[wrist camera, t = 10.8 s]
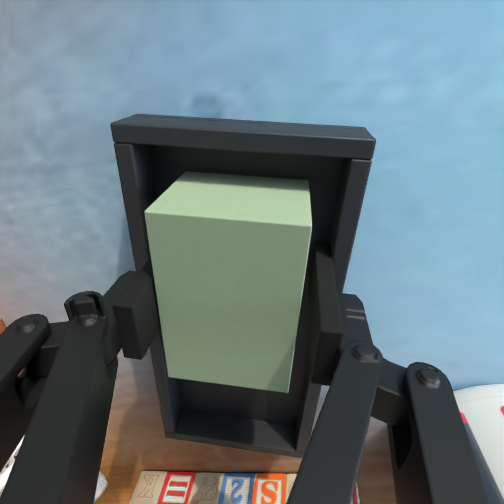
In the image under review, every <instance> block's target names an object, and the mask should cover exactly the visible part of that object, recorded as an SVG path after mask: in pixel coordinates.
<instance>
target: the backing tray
mask: <svg viewBox="0 0 504 504" xmlns="http://www.w3.org/2000/svg"><path fill="white" fill-rule="evenodd" d="M111 131H112V136H113V141H114V142H116V143H114V148H115V153H116V159H117V165H118V170H119V176H120V182H121V187H122V193H123V199H124V204H125V210H126V216H127V221H128V227H129V233H130V238H131V244H132V250H133V255H134V261H135V266H136V271H137V272H139V271H140V270H141V268H142V267H143V266H144V265H145V263H146V262H147V261H148V260H149V258H150V257H151V255H150V248H149V241H148V235H147V228H146V221H145V214H144V212H145V210H146V209H147V208H148V207H149V206H150V205H151V204H152V203H154V202H155V201H156V200H157V199H158V198H159V197H160V196H161V195H162V194H163V193H164V192H165V191H166V190H167V189H168V188H169V187H170V186H171V185H172V184H173V183H174V182H175V181H176V180H177V179H178V178H179V177H180V176H181V175H182V174H183V173H184V172H185V171H191V172H204V173H218V174H231V175H245V176H259V177H272V178H286V179H300V180H309V191H310V204H311V217H312V232H311V238H310V245H309V252H308V259H307V266H306V273H305V280H304V287H303V294H302V301H301V308H300V315H299V322H298V329H297V336H296V343H295V350H294V357H293V364H292V370H291V377H290V384H289V391H288V393H285V392H277V391H270V390H262V389H255V388H247V387H239V386H232V385H224V384H217V383H209V382H202V381H194V380H187V379H179V378H172V377H168V371H167V364H166V357H165V350H164V344H163V337H162V330H161V326H160V328H159V330H158V332H157V333H156V335H155V337H154V339H153V341H152V342H151V344H150V351H151V357H152V363H153V368H154V374H155V380H156V385H157V391H158V397H159V402H160V408H161V413H162V419H163V425H164V430H165V437H166V438H173V439H179V440H186V441H193V442H199V443H206V444H212V445H219V446H226V447H232V448H239V449H246V450H252V451H259V452H265V453H272V454H279V455H285V456H292V457H298V458H303V457H304V454H305V451H306V449H307V446H308V443H309V439H310V435H311V430H312V426H313V421H314V417H315V412H316V408H317V403H318V399H319V394H320V390H321V386H322V385H320V384H313V383H311V369H310V329H309V290H308V283H309V277H310V270H311V263H312V257H313V250H314V244H315V241H318V242H329V243H330V249H331V255H332V261H333V267H334V274H335V280H336V287H337V293H342V292H343V287H344V283H345V279H346V274H347V270H348V265H349V261H350V256H351V252H352V247H353V243H354V238H355V234H356V229H357V225H358V221H359V216H360V212H361V207H362V203H363V198H364V194H365V189H366V185H367V180H368V176H369V172H370V167H371V163H372V162H371V159H372V158H373V153H374V149H375V144H376V139H375V138H374V137H373V136H372V135H371V134H370V133H369V132H368V131H367V129H366V128H365V127H350V126H333V125H316V124H299V123H282V122H266V121H249V120H232V119H215V118H198V117H181V116H164V115H147V114H136V115H133V116H130V117H127V118H124V119H121V120H118V121H115V122H112V123H111Z"/></svg>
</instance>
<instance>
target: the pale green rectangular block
mask: <svg viewBox="0 0 504 504" xmlns="http://www.w3.org/2000/svg"><path fill="white" fill-rule="evenodd" d="M144 214H145V221H146V228H147V235H148V241H149V248H150V255H151V262H152V269H153V276H154V282H155V289H156V296H157V303H158V310H159V316H160V323H161V330H162V337H163V344H164V350H165V357H166V364H167V371H168V377H172V378H179V379H187V380H194V381H202V382H209V383H217V384H224V385H232V386H239V387H247V388H255V389H262V390H270V391H277V392H285V393H288V391H289V384H290V377H291V370H292V364H293V357H294V350H295V343H296V336H297V329H298V322H299V315H300V308H301V301H302V294H303V287H304V280H305V273H306V266H307V259H308V252H309V245H310V238H311V232H312V217H311V204H310V191H309V180H300V179H286V178H272V177H259V176H245V175H231V174H218V173H204V172H191V171H185V172H184V173H183V174H182V175H181V176H180V177H179V178H178V179H177V180H176V181H175V182H174V183H173V184H172V185H171V186H170V187H169V188H168V189H167V190H166V191H165V192H164V193H163V194H162V195H161V196H160V197H159V198H158V199H157V200H156V201H155V202H154V203H152V204H151V205H150V206H149V207H148V208H147V209H146V210H145V212H144Z"/></svg>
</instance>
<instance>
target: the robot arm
mask: <svg viewBox="0 0 504 504" xmlns="http://www.w3.org/2000/svg"><path fill="white" fill-rule="evenodd" d="M308 290H309V329H310V369H311V383H313V384H320V385H327V386H330V387H329V390H328V393H327V395H326V398H325V401H324V403H323V406H322V409H321V411H320V414H319V417H318V419H317V422H316V425H315V427H314V430H313V433H312V435H311V438H310V441H309V443H308V446H307V449H306V451H305V454H304V457H303V459H302V462H301V465H300V467H299V470H298V473H297V475H296V478H295V481H294V483H293V486H292V489H291V491H290V494H289V497H288V499H287V502H286V504H351V501H352V496H353V492H354V488H355V483H356V479H357V474H358V470H359V465H360V461H361V456H362V452H363V448H364V443H365V439H366V434H367V430H368V425H369V421H370V416H372V417H374V418H376V419H378V420H381V421H383V422H385V423H387V426H388V434H389V442H390V451H391V459H392V468H393V476H394V485H395V493H396V502H397V504H490V501H489V498H488V495H487V492H486V489H485V486H484V483H483V480H482V477H481V474H480V471H479V468H478V465H477V462H476V459H475V456H474V453H473V450H472V447H471V444H470V441H469V438H468V435H467V432H466V429H465V426H464V423H463V420H462V417H461V414H460V411H459V408H458V405H457V402H456V399H455V396H454V393H453V390H452V387H451V384H450V382H449V380H448V378H447V376H446V375H445V374H444V373H443V372H442V371H441V370H439V369H438V368H436V367H434V366H433V365H430V364H427V363H423V362H415V363H412V364H410V365H409V366H408V367H407V368H405V367H402V366H399V365H397V364H394V363H392V362H390V361H387V360H386V359H384V358H383V356H382V354H381V352H380V351H379V350H378V349H377V348H376V347H375V346H374V345H373V343H372V339H371V335H370V331H369V327H368V323H367V320H366V315H365V313H364V312H365V311H364V307H363V303H362V302H361V300H360V299H359V298H358V297H357V296H356V295H352V294H343V293H337V287H336V280H335V274H334V267H333V261H332V255H331V249H330V243H329V242H318V241H315V244H314V250H313V257H312V263H311V270H310V277H309V283H308ZM64 306H65V309H66V312H67V315H68V318H69V321H67V322H58V323H49V322H48V319H47V317H45V316H44V315H41V314H31V315H27V316H23V317H21V318H19V319H17V320H15V321H14V322H13V323H11V324H10V325H9V326H8V327H7V328H6V329H5V330H4V331H3V332H2V333H1V334H0V472H1V471H2V469H3V468H4V466H5V465H6V463H7V462H8V460H9V458H10V457H11V455H12V454H13V452H14V451H15V449H16V447H17V446H18V444H19V443H20V441H21V440H22V438H23V437H24V438H23V441H22V443H21V446H20V449H19V451H18V454H17V456H16V459H15V461H14V464H13V467H12V469H11V472H10V474H9V477H8V479H7V482H6V484H5V487H4V490H3V492H2V495H1V498H0V504H94V499H95V493H96V488H97V482H98V476H99V470H100V465H101V459H102V453H103V448H104V442H105V436H106V430H107V425H108V419H109V413H110V408H111V402H112V396H113V390H114V385H115V379H116V373H117V368H118V359H117V354H118V353H119V351H120V350H121V348H122V349H123V354H124V357H126V358H133V359H141V360H142V359H143V357H144V355H145V353H146V352H147V350H148V348H149V346H150V344H151V342H152V341H153V339H154V337H155V335H156V333H157V332H158V330H159V328H160V326H161V323H160V316H159V310H158V303H157V296H156V289H155V282H154V276H153V269H152V262H151V257H150V258H149V260H148V261H147V262H146V263H145V265H144V266H143V267H142V268H141V270H140V271H139V272H137V271H128V272H127V273H125V274H123V275H122V276H120V277H119V278H118V279H117V281H116V282H115V283H114V285H112V286H111V288H110V289H109V290H108V291H107V292H106V293H105V294H104V296H103V297H102V296H101V295H100V294H99V293H97V292H94V291H86V292H81V293H78V294H75V295H73V296H71V297H70V298H68V299H67V300H66V302H65V303H64ZM22 370H23V371H22ZM21 371H22V373H21V374H20V372H21ZM19 374H20V375H19ZM18 375H19V376H18ZM24 435H25V436H24Z"/></svg>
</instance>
